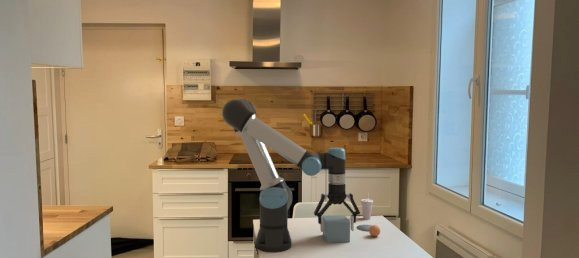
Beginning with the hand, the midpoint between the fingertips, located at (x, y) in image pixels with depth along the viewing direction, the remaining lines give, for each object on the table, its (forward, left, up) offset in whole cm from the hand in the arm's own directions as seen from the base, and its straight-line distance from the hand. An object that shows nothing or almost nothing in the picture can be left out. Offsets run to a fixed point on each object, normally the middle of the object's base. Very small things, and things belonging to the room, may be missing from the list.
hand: (337, 230), depth 182 cm
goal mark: (+18, +14, -4) cm, 23 cm away
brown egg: (+18, +2, -1) cm, 18 cm away
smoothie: (+22, +30, -4) cm, 37 cm away
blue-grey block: (0, 0, -4) cm, 4 cm away
